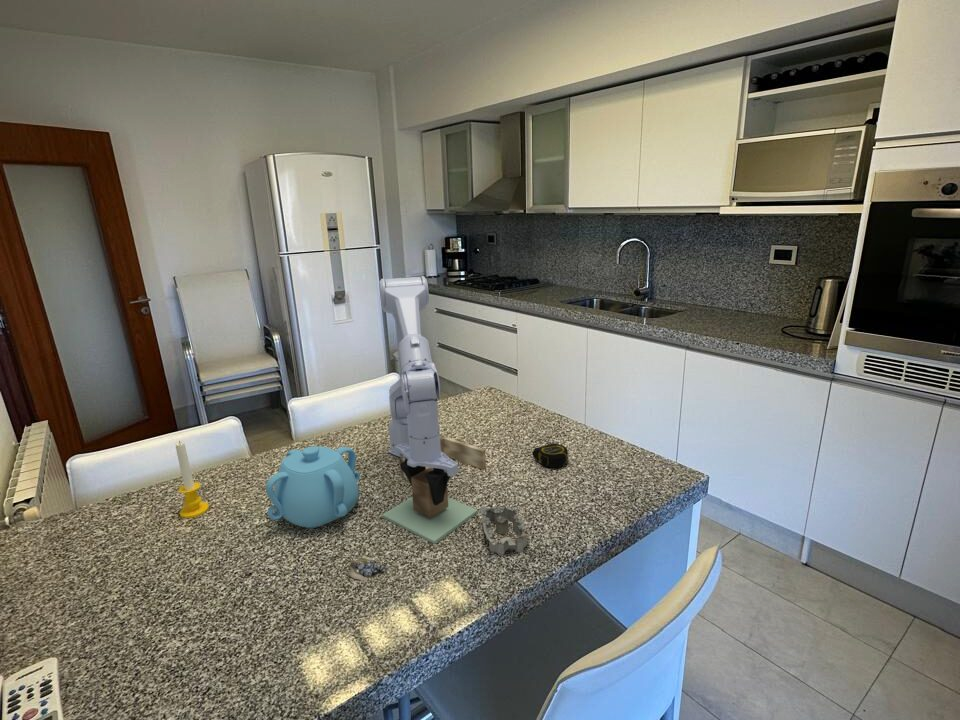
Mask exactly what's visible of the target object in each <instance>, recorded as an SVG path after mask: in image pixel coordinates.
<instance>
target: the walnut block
mask: <svg viewBox="0 0 960 720" xmlns="http://www.w3.org/2000/svg"><path fill="white" fill-rule="evenodd" d="M432 470H433V468H431V467H430V468H428V469H426V470H424V471H422V472H420V473H418V474H416V475H415V476H413V477H411V482H412V487H411V494H412V496H413V510H414V511H416V512H418V513H420V514H422V515H424V516H427V517H429V518H431V517H433V516H434V515H436V514H438V513H439V512H441V511H442V510H444V509H445V508H447V507H448V498H449V493H448V492H449V491H448V488H449V487H448V486H447V487H446V490H445V495H444V500H443V502H441V503H440V504H438V505H434V504H433V501H432V495H431V489H430V485H429V483H428V480H427V479H426V477H425V474H427V473H428V472H430V471H432ZM412 496H411V497H412Z"/></svg>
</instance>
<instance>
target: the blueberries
mask: <svg viewBox="0 0 960 720" xmlns="http://www.w3.org/2000/svg"><path fill="white" fill-rule="evenodd" d="M382 560H384V559H383V558H382V559H380V561H382ZM375 561H379V557H378V556H377V555H376V556H372V555H368V554H367V555H362V556H361V557H359V558H358V559H355V560H351V562H350V565H349V566H348V568H349V569H350V570H348V571H347V572H345V574H347V575H346V576H347V577H348V576H349V577H350V578H352V579H355V580H360V582H364V581H365V582H366V581H368V579H371V578H374V577H377V576H378V575H383V574H384V573H386V572H387V570H388V567H386V566H383V567H382V565H381V564H380V563H375Z"/></svg>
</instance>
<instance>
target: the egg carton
mask: <svg viewBox="0 0 960 720" xmlns="http://www.w3.org/2000/svg"><path fill="white" fill-rule="evenodd" d="M516 509H517V508H516V507H515V506H511V507H510V508H508V507H506V505H504V506H502V507H500V506H496V507H493V506H491V507H490V508H489V507H482V506H481V507H480V516H481V523H482V525H481V526H482V529H483V531H484V534H485V539H486V541H488V543H489V544H488V545H489V551H490V552H491V553H492V552H493V553H496V554H497V555H505V552H506V551H508V550H514V551H516V553H519V552H520V553H521V552H523V551H524V549H525V548H526V547H528V546H527V545H528V535H529V533H528V529H527V528H528V527H527V526H526V523H525V521H524V519H523V517H522V516H521V514H519V512H517V510H516ZM509 521H512V523H513V530H514V531H516V532H517V537H516V539H512V538H511V537H508V536H507V537H506V536H505V537H502V538H501V539H500V541H498V540H497V539H496V538H495V532H496V533H498V534H499V535H506V534H508V532H509ZM491 523H494V524H495V532H494V529H493V528H491Z"/></svg>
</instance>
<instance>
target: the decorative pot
mask: <svg viewBox="0 0 960 720" xmlns="http://www.w3.org/2000/svg"><path fill="white" fill-rule="evenodd" d="M345 453H348V462H346V460H345V458H344V457H343V454H345ZM356 462H357V455H356V452H355V450H354V449H352V448H351V447H349V446H341V447H339V448H337V449H336V450H335V449H333V448H329V447H326V446H318V445H317V446H307V447H305V448H303V449H301V450H299V449H297V448H294V449H290V450H289V451H288V452H286V454H285V457H284V459H282V460H281V463H280V465H279V468H278V469H277V470H278V471H277V472H276V473H275V474H273V475H271V476H270V477H269V479H267V482H266V485H265V492H266V495H267V496H268V499H269V500H270V502H272V504H273V505H271V506H270V507H269V508H268V509H267V517H268V518H269V519H270V520H275V521H277V520H280V519H282V518H284V519H285V520H286V521H288V522H290V523H291V524H293V525H296V526H299V527H302V528H303V527H304V528H306V529H309V530H312V529H315V528H318V527H320V526H323V525H326V524H329V523H330V522H333V521H335V520H337V519H339V518H342V517H345V516H346V515H347V514H348V513H350V512H351V511H352V509H353V508H354V507H355V505H356V503H357V502H358V499H359V496H360V490H359V486H358V485H359V484H358V482H359V481H360V478H361V477H360V476H361V475H360V472H359V471H358V470H356V469H355V468H356V467H355V466H356ZM275 510H276V512H275V513H274V511H275Z"/></svg>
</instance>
